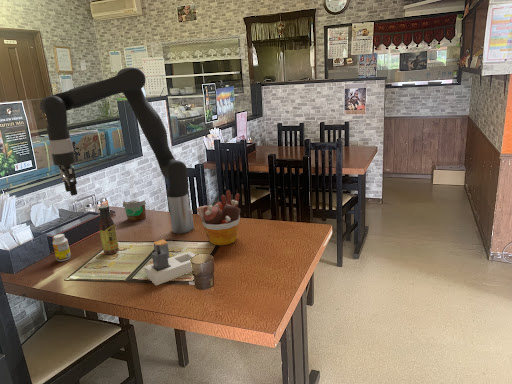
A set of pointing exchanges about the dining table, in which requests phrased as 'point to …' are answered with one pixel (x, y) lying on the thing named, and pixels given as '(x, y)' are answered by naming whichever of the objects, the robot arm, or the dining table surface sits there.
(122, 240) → the dining table surface
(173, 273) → the white rectangular frame
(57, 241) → the supplement bottle
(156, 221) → the dining table surface
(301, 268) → the dining table surface
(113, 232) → the sauce bottle
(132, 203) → the food container
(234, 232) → the bucket of meat
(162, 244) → the plug
